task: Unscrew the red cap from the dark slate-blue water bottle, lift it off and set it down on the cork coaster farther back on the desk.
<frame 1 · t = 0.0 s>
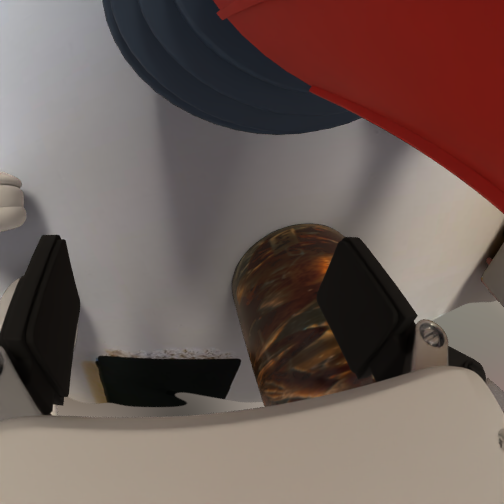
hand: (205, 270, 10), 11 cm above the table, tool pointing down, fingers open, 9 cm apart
headphones: (22, 241, 19), on the table
water bottle: (209, 22, 13), on the table
jar: (294, 277, 28), on the table
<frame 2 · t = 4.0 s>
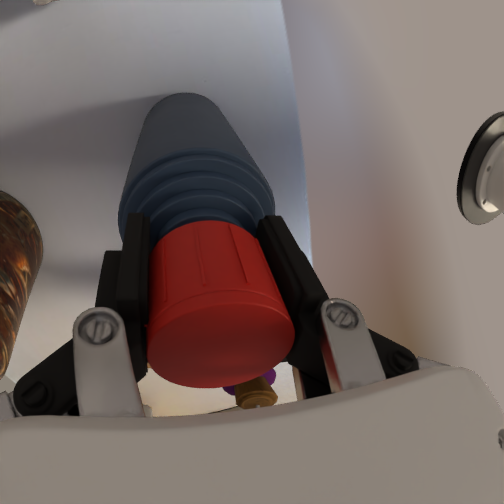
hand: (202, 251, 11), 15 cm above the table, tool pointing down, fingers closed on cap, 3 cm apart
alarm clock: (109, 412, 47), on the table
water bottle: (184, 132, 22), on the table, touching gripper
perfume bottle: (205, 271, 31), on the table
cap: (219, 341, 8), point 19 cm above the table, screwed on, not yet turned, touching gripper
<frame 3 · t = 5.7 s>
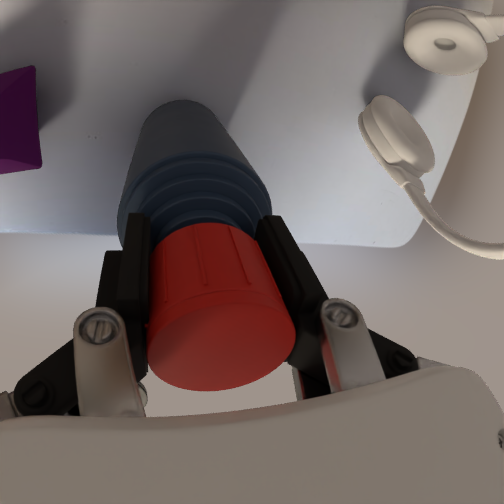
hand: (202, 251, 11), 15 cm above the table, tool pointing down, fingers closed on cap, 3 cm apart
headphones: (395, 78, 23), on the table
water bottle: (180, 139, 22), on the table, touching gripper
perfume bottle: (14, 114, 17), on the table
cap: (220, 343, 8), point 19 cm above the table, turned 113° so far, risen 0.1 cm, still on its thread, touching gripper
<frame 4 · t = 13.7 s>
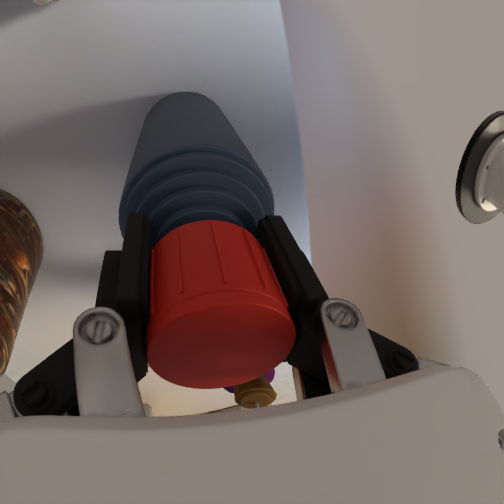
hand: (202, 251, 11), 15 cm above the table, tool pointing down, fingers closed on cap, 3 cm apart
beige rough towered piece: (238, 417, 59), on the table
water bottle: (184, 131, 22), on the table
perfume bottle: (205, 270, 31), on the table
cap: (220, 342, 8), point 19 cm above the table, turned 226° so far, risen 0.2 cm, still on its thread, touching gripper
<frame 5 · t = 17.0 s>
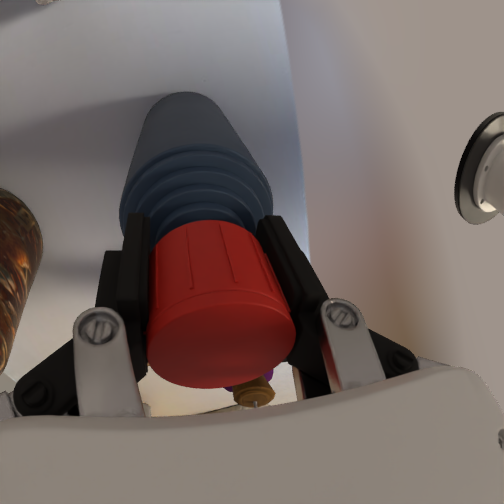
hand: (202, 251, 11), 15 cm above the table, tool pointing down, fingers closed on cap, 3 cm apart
beige rough towered piece: (237, 417, 59), on the table
water bottle: (184, 131, 22), on the table
perfume bottle: (204, 269, 32), on the table
cap: (220, 342, 8), point 19 cm above the table, turned 340° so far, risen 0.4 cm, still on its thread, touching gripper
when the fingers open (2 cm above the table, at t = 24.9 s): cap drops 2 cm, resting on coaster.
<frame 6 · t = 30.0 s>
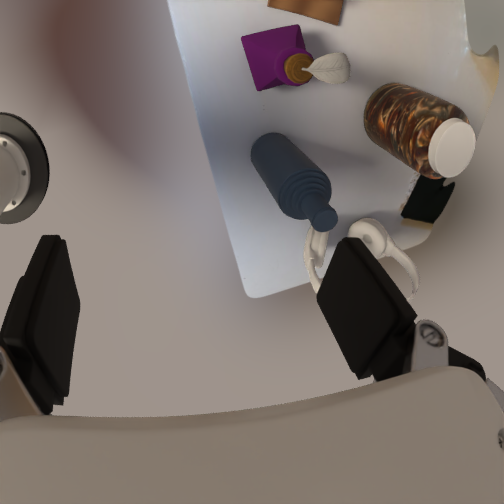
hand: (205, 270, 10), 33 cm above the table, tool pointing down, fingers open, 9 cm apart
headphones: (334, 228, 56), on the table
water bottle: (271, 153, 43), on the table
perfume bottle: (270, 55, 34), on the table
jar: (392, 114, 43), on the table
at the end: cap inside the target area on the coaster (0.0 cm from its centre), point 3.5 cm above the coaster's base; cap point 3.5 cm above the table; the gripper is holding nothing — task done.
